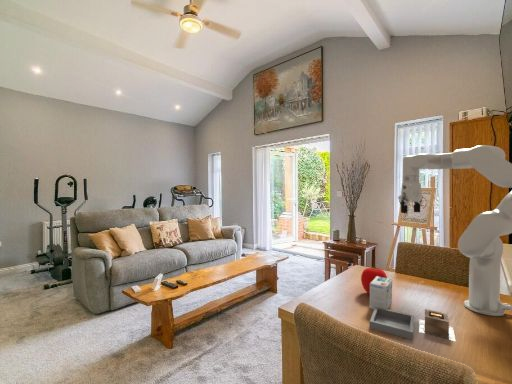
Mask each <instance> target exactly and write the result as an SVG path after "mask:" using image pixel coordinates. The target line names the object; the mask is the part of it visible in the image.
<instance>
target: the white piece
mask: <svg viewBox="0 0 512 384" xmlns="http://www.w3.org/2000/svg"><path fill="white" fill-rule="evenodd" d="M431 316H432V317H435V318H440V319H441V318H442V315H439V314H434V313H431ZM418 333H421V334H425V335H429V336H433V337H437V338H440V339H444V340H448V341H453V342H456V336H455V331H454V327H453V326H450V325H449V337H446V336H442V335H438V334H434V333H430V332H426V331H425V319H420V318H419V319H418Z"/></svg>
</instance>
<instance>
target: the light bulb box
mask: <svg viewBox="0 0 512 384" xmlns="http://www.w3.org/2000/svg"><path fill="white" fill-rule="evenodd" d="M391 303H393V279H392V278H388V277H387V278H383V277H378V276H376V277H375V279H374V280H373V281H372V282H371V283H370V294H369V309H372V310H374V309H375V307H380V308H384V309H388V310H389V307H390V305H391Z"/></svg>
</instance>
